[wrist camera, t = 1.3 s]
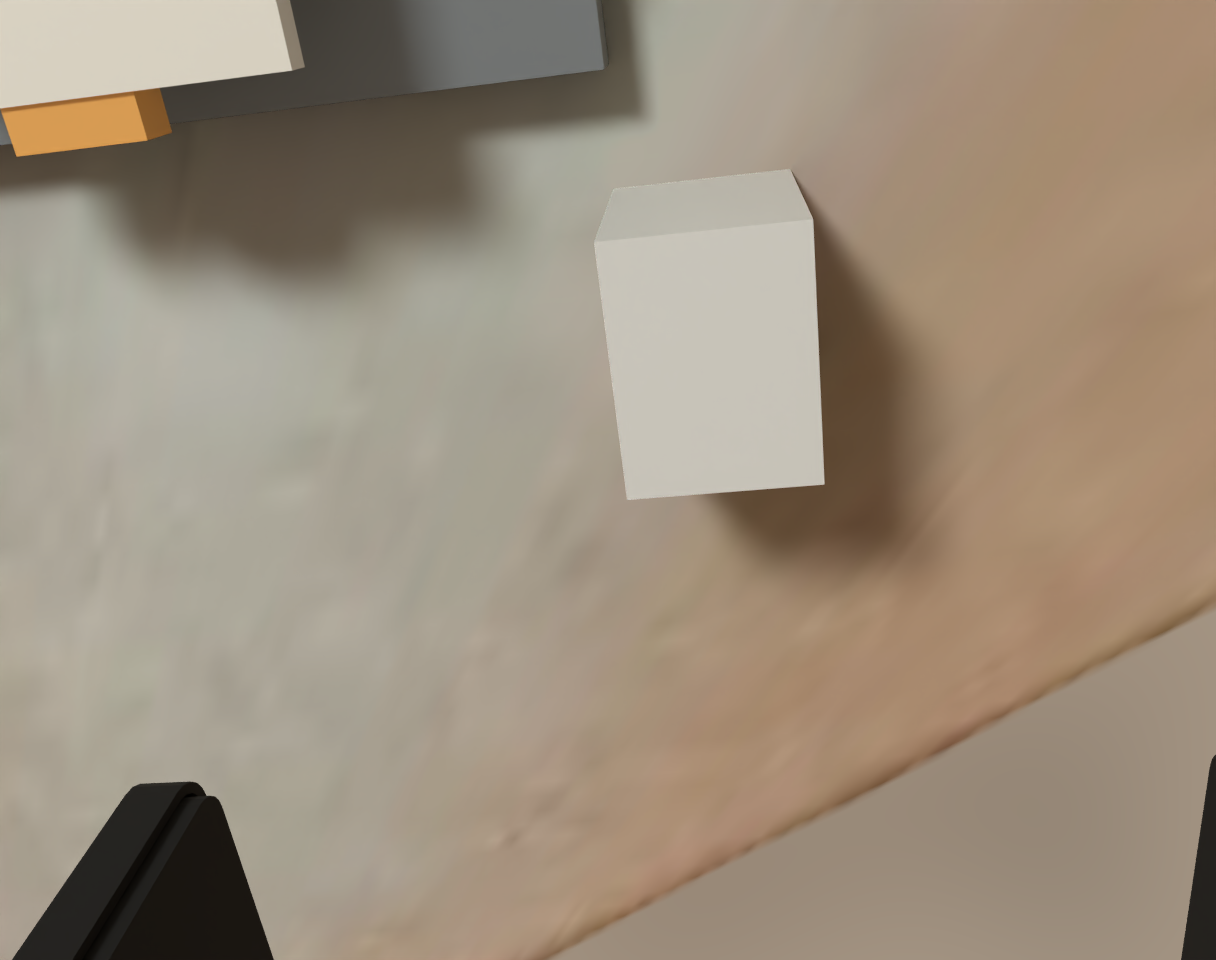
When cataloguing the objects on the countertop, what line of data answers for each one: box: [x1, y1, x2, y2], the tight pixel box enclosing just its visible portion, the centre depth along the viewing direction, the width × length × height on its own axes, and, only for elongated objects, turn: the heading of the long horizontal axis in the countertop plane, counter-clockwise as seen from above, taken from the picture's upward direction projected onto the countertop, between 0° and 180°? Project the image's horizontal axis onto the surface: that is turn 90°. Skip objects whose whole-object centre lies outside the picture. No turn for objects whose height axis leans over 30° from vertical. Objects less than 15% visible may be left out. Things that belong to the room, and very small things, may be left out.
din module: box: [594, 169, 825, 500], centre depth 26 cm, size 4×6×6 cm
